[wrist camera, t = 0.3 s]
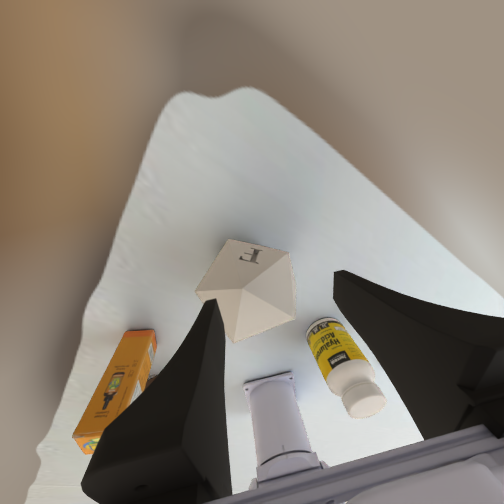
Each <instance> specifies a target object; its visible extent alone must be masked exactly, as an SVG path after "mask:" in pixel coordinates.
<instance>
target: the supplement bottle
mask: <svg viewBox="0 0 504 504" xmlns="http://www.w3.org/2000/svg"><path fill="white" fill-rule="evenodd" d="M306 339H307V342H308V344H309V346H310V349H311V351H312V353H313V355H314V357H315V359H316V362H317V364H318V366H319V368H320V370H321V372H322V375H323V377H324V379H325V381H326V383H327V385H328V387H329V389H330V390H331V392H332V393H334V394H335V395H337V396H340V397H341V399H342V402H343V405H344V406H345V408H346V410H347V412H348V414H349V416H350V417H352V418H355V419H363V418H367V417H370V416H373V415H375V414H376V413H378V412H380V411H381V410H382V409H383V408H384V407H385V405H386V402H387V400H386V398H385V396H384V395H383V393H382V391H381V390H380V388H379V387H378V386H377V385H376V384H375V383H374V380H375V372H374V369H373V367H372V366H371V364H370V363H369V361H368V360H367V359H366V357H365V356H364V355H363V353H362V352H361V350H360V349H359V348H358V346H357V345H356V343H355V342H354V341H353V339H352V338H351V336H350V335H349V334H348V332H347V331H346V329H345V328H344V326H343V325H342V324H341V323H340V322H339V321H338V320H336V319H333V318H324V319H320V320H318V321H316V322H315V323H313V324H312V325H311V326H310V327H309V329H308V331H307V333H306Z"/></svg>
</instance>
